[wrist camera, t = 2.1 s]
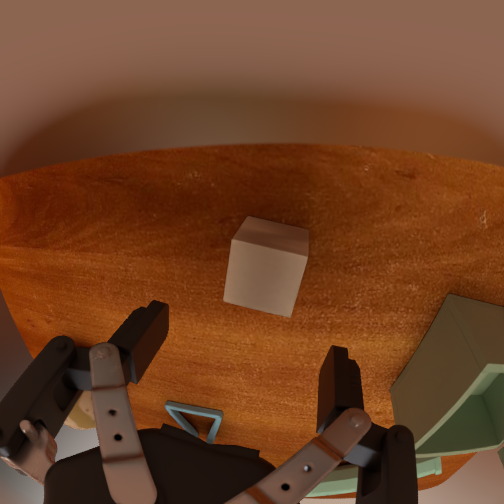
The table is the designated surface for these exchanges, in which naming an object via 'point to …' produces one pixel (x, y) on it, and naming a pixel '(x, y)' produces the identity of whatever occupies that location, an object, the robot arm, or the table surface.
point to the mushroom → (82, 413)
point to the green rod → (347, 477)
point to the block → (266, 266)
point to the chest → (455, 382)
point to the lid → (501, 455)
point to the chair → (175, 407)
